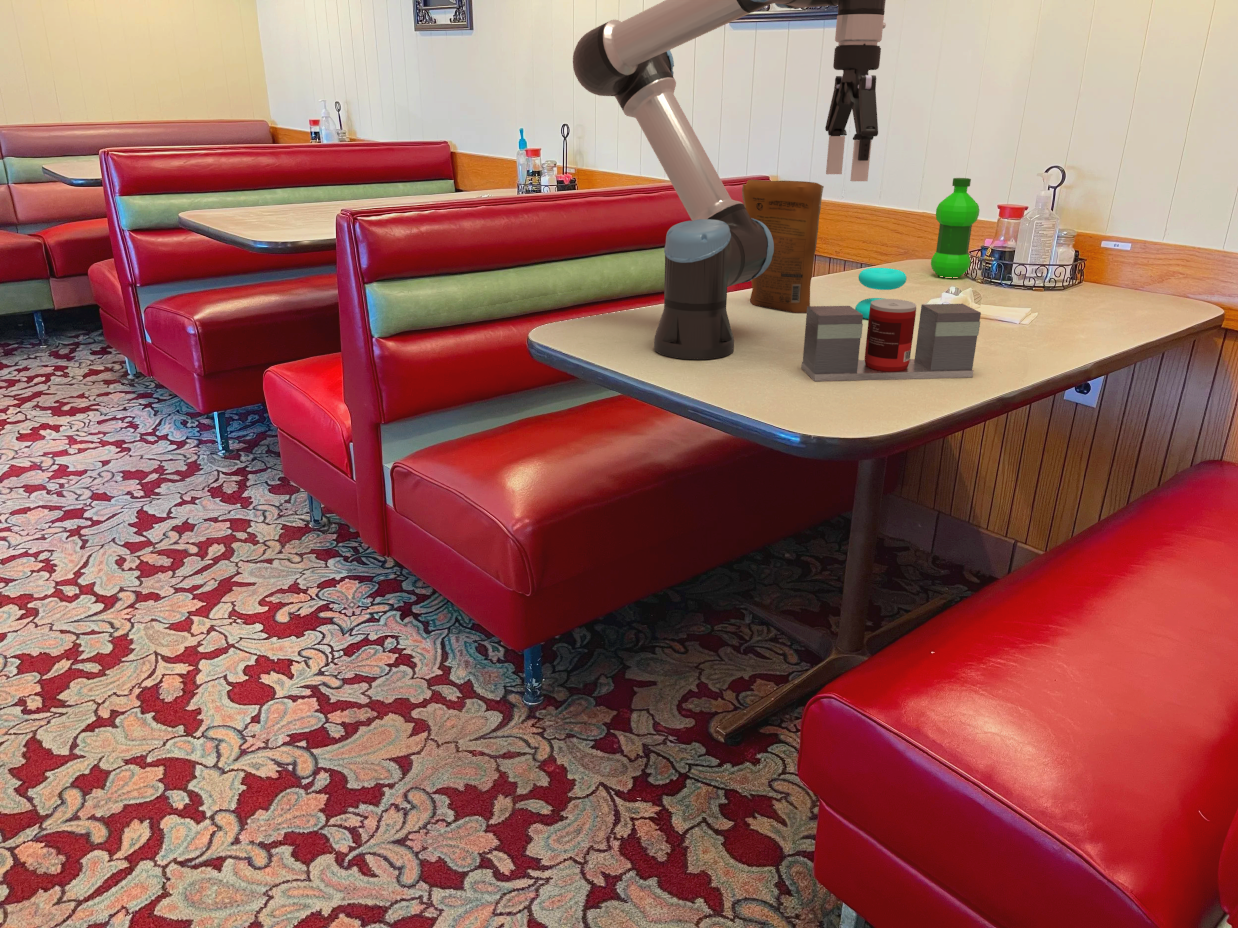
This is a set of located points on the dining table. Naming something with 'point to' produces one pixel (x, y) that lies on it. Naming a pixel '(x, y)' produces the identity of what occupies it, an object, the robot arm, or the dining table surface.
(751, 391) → the dining table surface
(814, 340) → the grey double block stand
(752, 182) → the pancake mix bag
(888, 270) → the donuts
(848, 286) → the dining table surface
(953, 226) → the plastic bottle
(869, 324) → the canned food
